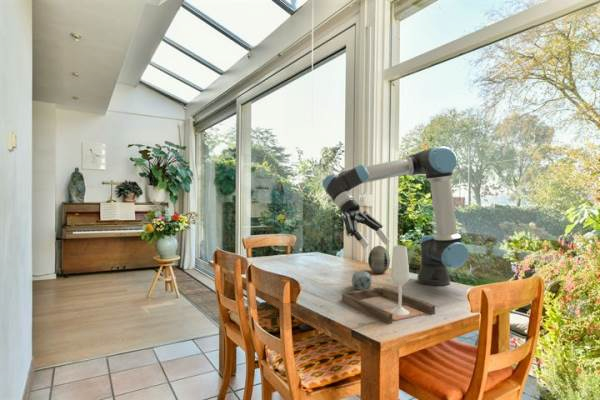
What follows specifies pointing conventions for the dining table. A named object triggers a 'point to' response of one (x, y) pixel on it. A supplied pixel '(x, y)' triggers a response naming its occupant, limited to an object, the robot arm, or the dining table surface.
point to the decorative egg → (379, 259)
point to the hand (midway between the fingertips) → (377, 244)
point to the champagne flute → (400, 274)
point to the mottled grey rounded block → (361, 280)
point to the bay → (376, 312)
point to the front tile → (399, 317)
